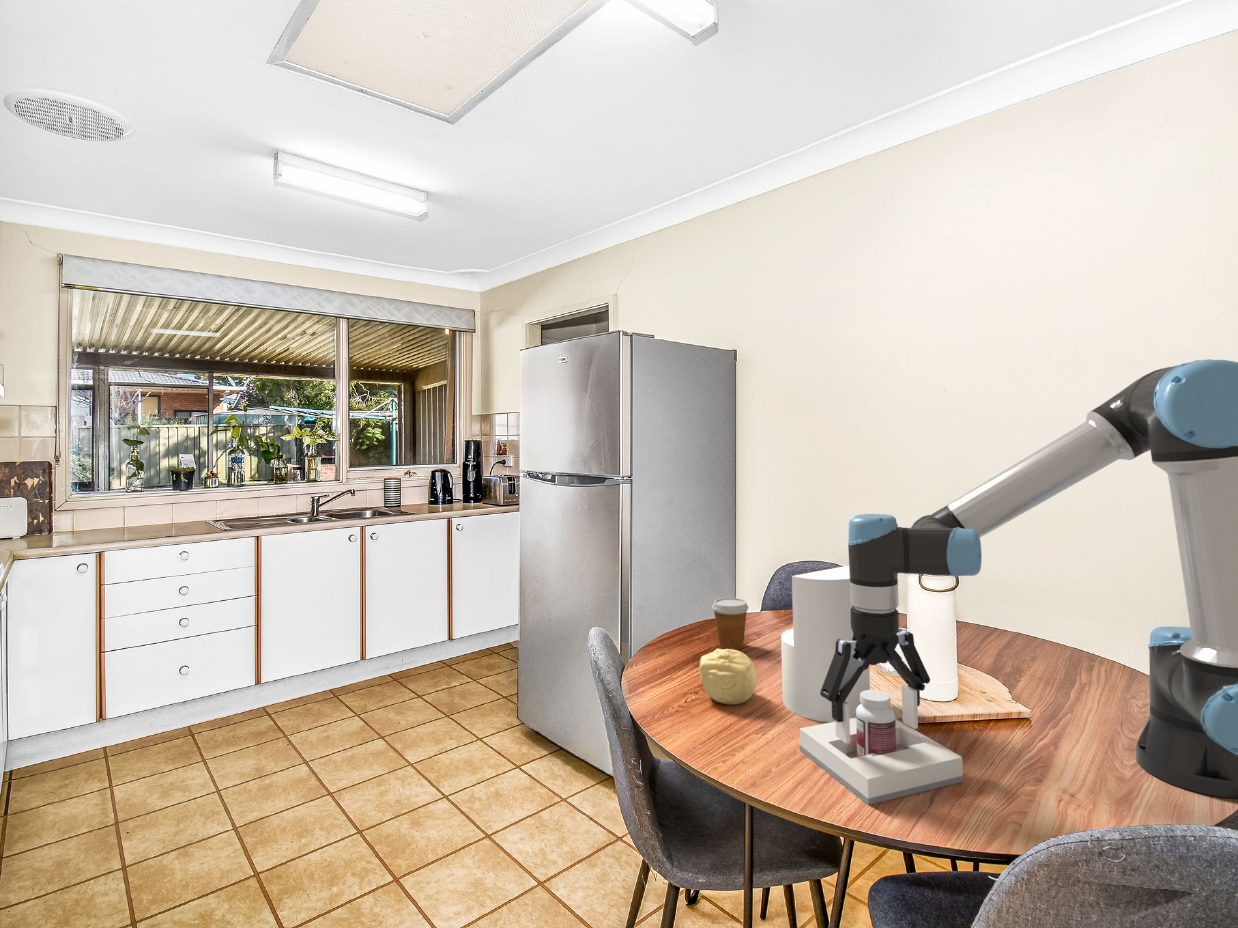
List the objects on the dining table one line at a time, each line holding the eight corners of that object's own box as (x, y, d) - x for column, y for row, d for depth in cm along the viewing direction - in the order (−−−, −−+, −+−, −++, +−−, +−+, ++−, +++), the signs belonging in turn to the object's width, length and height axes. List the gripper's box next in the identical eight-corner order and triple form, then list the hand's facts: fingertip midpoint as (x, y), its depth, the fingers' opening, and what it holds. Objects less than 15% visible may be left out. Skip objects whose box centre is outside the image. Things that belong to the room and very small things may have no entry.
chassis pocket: (883, 733, 119) (883, 711, 119) (962, 781, 102) (962, 757, 101) (800, 750, 113) (799, 728, 113) (868, 804, 96) (867, 778, 96)
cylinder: (889, 708, 129) (886, 571, 128) (828, 730, 121) (825, 583, 119) (823, 681, 144) (820, 558, 143) (765, 699, 136) (762, 569, 135)
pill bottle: (902, 758, 107) (901, 694, 107) (886, 773, 103) (885, 706, 102) (867, 746, 112) (865, 684, 111) (850, 759, 108) (848, 695, 107)
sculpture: (694, 704, 134) (692, 654, 134) (713, 684, 145) (712, 637, 144) (747, 714, 129) (746, 661, 128) (763, 692, 139) (762, 643, 139)
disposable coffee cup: (710, 651, 167) (709, 605, 167) (716, 639, 176) (714, 596, 176) (747, 653, 164) (746, 607, 164) (751, 641, 173) (749, 598, 173)
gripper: (917, 594, 114) (920, 710, 114) (796, 610, 106) (800, 735, 107) (951, 603, 106) (954, 728, 107) (823, 622, 99) (827, 756, 100)
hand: (877, 732), depth 107 cm, fingers open, 13 cm apart
